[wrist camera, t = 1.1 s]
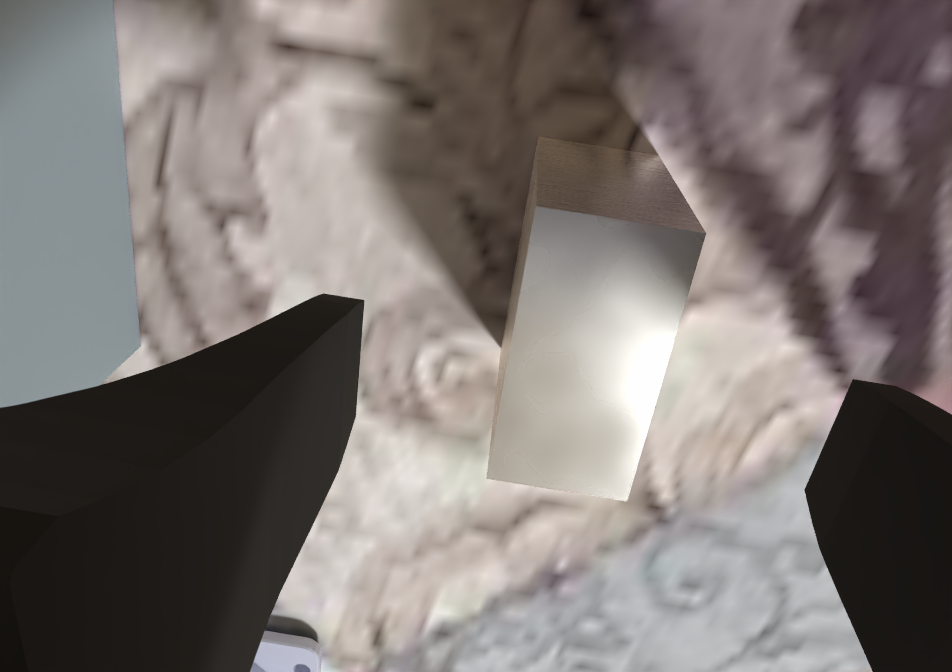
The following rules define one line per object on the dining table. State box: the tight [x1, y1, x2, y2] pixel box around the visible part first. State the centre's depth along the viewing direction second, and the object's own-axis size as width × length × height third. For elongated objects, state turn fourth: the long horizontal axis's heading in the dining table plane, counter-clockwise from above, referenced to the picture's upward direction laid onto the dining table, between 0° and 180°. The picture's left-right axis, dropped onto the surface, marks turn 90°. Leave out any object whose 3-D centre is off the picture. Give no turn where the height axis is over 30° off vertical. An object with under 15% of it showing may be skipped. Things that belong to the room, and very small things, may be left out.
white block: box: [487, 136, 706, 501], centre depth 14 cm, size 5×2×5 cm, turn 172°
